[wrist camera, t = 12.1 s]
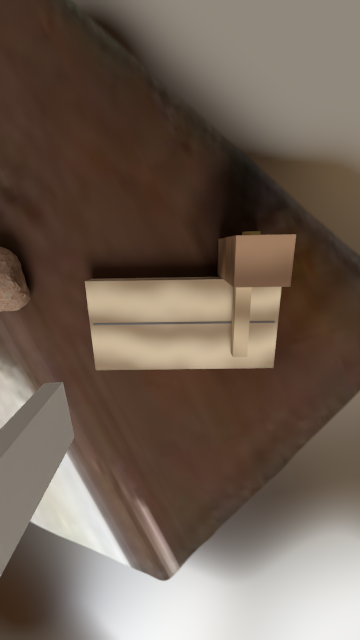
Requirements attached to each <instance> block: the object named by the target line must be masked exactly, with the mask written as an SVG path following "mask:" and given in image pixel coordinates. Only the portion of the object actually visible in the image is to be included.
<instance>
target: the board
mask: <svg viewBox="0 0 360 640" xmlns="http://www.w3.org/2000/svg"><path fill="white" fill-rule="evenodd" d="M85 287H86V295H87V303H88V311H89V319H90V327H91V335H92V343H93V351H94V359H95V367H96V370H140V369H221V368H273V365H274V356H275V346H276V336H277V326H278V316H279V306H280V296H281V287H252V292H251V307H250V322H249V337H248V352H247V357H232V354H231V330H232V307H233V286H231V285H230V284H229V283H228V282H226V281H225V280H224V279H222V278H221V277H176V278H112V279H90V280H87V281H85Z"/></svg>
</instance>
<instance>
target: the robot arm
mask: <svg viewBox="0 0 360 640" xmlns="http://www.w3.org/2000/svg"><path fill="white" fill-rule="evenodd" d="M73 439H74V433H73V428H72V423H71V419H70V414H69V409H68V404H67V399H66V395H65V390H64V385H63V382H59V383H44V384H43V385H42V386H41V387H40V388H39V389H38V390H37V391H36V392H35V394H34V395H33V396H32V397H31V398H30V399H29V400H28V401H27V402H26V403H25V404H24V405H23V406H22V407H21V408H20V409H19V410H18V411H17V412H16V414H15V415H14V416H13V417H12V418H11V419H10V420H9V421H8V422H7V423H6V424H5V425H4V426H3V427H2V428H1V429H0V576H1V574H2V572H3V571H4V568H5V567H6V565H7V563H8V561H9V559H10V557H11V555H12V553H13V552H14V550H15V548H16V546H17V544H18V542H19V540H20V538H21V537H22V535H23V533H24V531H25V529H26V527H27V525H28V523H29V522H30V520H31V518H32V516H33V514H34V512H35V510H36V508H37V506H38V505H39V503H40V501H41V499H42V497H43V495H44V493H45V491H46V489H47V488H48V486H49V484H50V482H51V480H52V478H53V476H54V474H55V472H56V471H57V469H58V467H59V465H60V463H61V461H62V459H63V457H64V456H65V454H66V452H67V450H68V448H69V446H70V444H71V442H72V440H73Z"/></svg>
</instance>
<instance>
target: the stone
mask: <svg viewBox="0 0 360 640" xmlns="http://www.w3.org/2000/svg"><path fill="white" fill-rule="evenodd" d="M29 300H30V290H29V289H28V287H27V285H26V281H25V277H24V275H23V272H22V269H21V263H20V261H19V260H18V257H17V256H16V255H14V254H13V253H12V252H11V251H10V250H8V249H5V248H3V247H1V246H0V311H15V310H19V309H20V308H21V307H23V306H25V305H26V304H27V303H28V302H29Z"/></svg>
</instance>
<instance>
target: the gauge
mask: <svg viewBox="0 0 360 640" xmlns="http://www.w3.org/2000/svg"><path fill="white" fill-rule="evenodd" d="M260 234H261V231H248V232H242V235H236V236H231V237H226V238H221V239H218V274H217V275H218V276H220V277H221V278H222V279H224V280H225V281H226V282H228V283H229V284H230V285H231V286H233V307H232V330H231V354H232V357H247V352H248V337H249V322H250V307H251V292H252V287H290V284H291V275H292V266H293V257H294V248H295V239H296V234H292V235H260Z"/></svg>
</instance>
